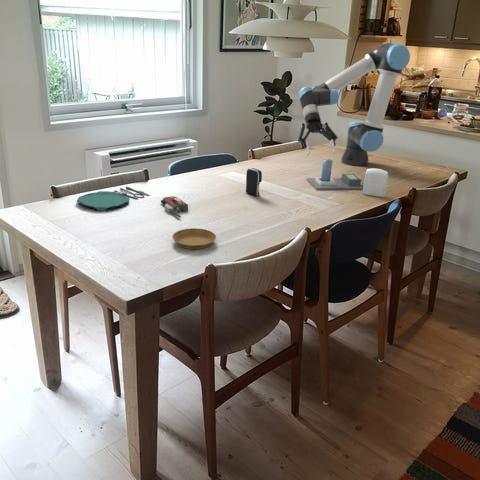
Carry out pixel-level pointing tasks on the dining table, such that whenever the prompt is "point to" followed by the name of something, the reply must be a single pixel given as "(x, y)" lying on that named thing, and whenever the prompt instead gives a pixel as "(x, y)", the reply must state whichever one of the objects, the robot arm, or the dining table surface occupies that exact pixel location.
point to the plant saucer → (194, 238)
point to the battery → (253, 181)
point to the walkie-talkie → (174, 205)
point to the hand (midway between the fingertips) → (321, 153)
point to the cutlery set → (107, 199)
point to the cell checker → (337, 183)
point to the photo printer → (375, 182)
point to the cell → (326, 170)
